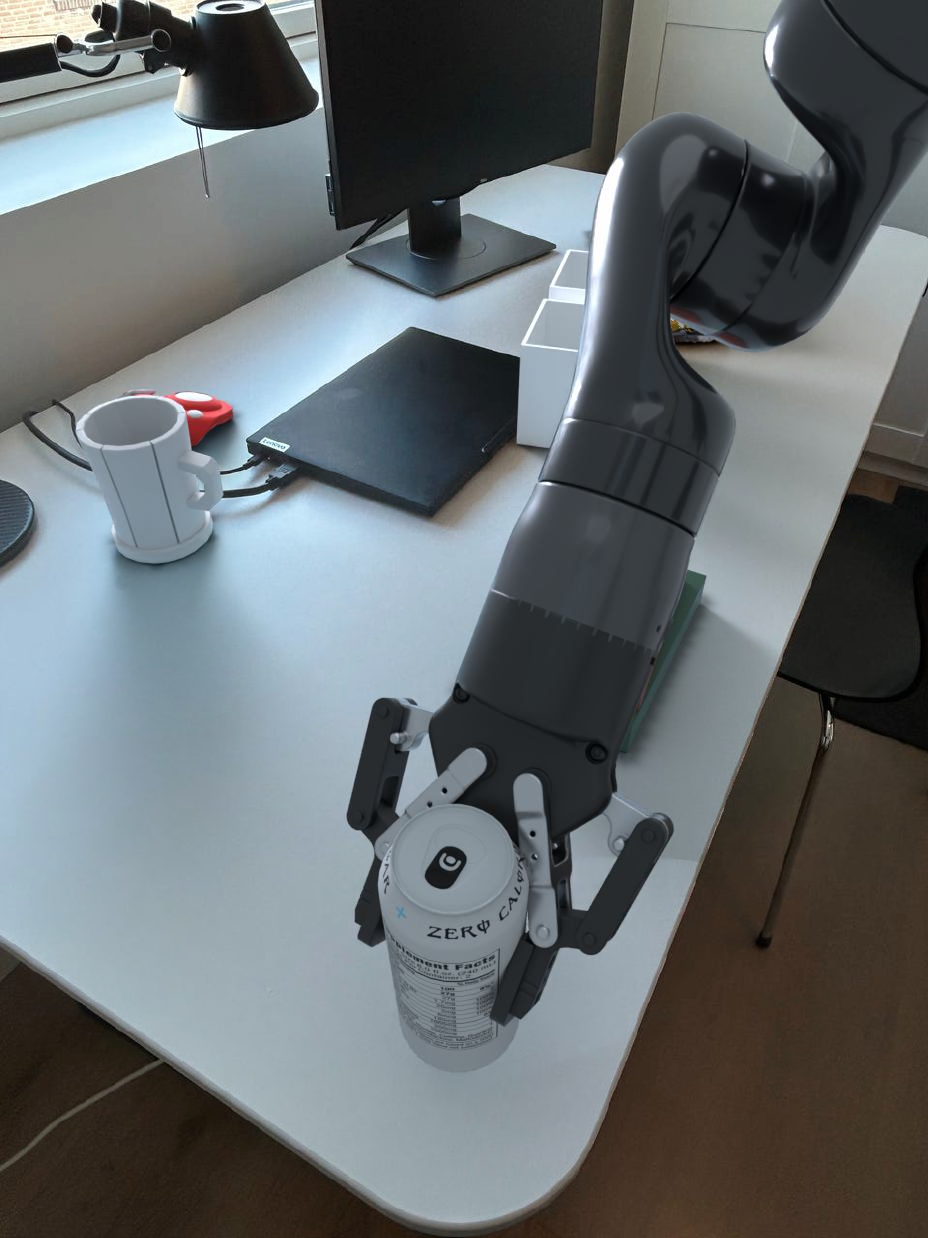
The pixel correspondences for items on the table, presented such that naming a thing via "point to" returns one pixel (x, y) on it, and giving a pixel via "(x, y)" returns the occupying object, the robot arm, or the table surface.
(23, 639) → the table surface
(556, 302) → the storage container
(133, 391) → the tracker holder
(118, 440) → the cup
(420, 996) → the energy drink can
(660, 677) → the book stack
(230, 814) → the table surface
